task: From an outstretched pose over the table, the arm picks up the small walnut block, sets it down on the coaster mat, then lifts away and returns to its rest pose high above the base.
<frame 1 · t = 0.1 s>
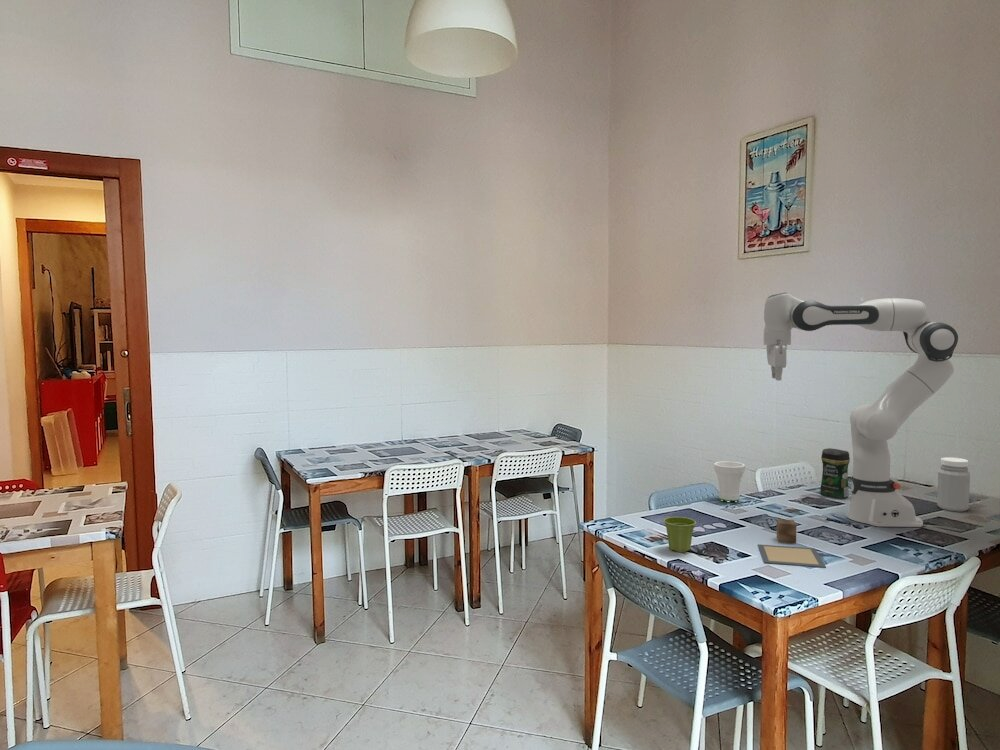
hand: (776, 379, 234), 48 cm above the table, fingers open, 8 cm apart
walnut block: (786, 540, 208), on the table
cup: (729, 501, 256), on the table
coffee jar: (834, 496, 261), on the table
coaster mat: (790, 556, 194), on the table
plant pot: (679, 549, 201), on the table
jar: (952, 509, 241), on the table
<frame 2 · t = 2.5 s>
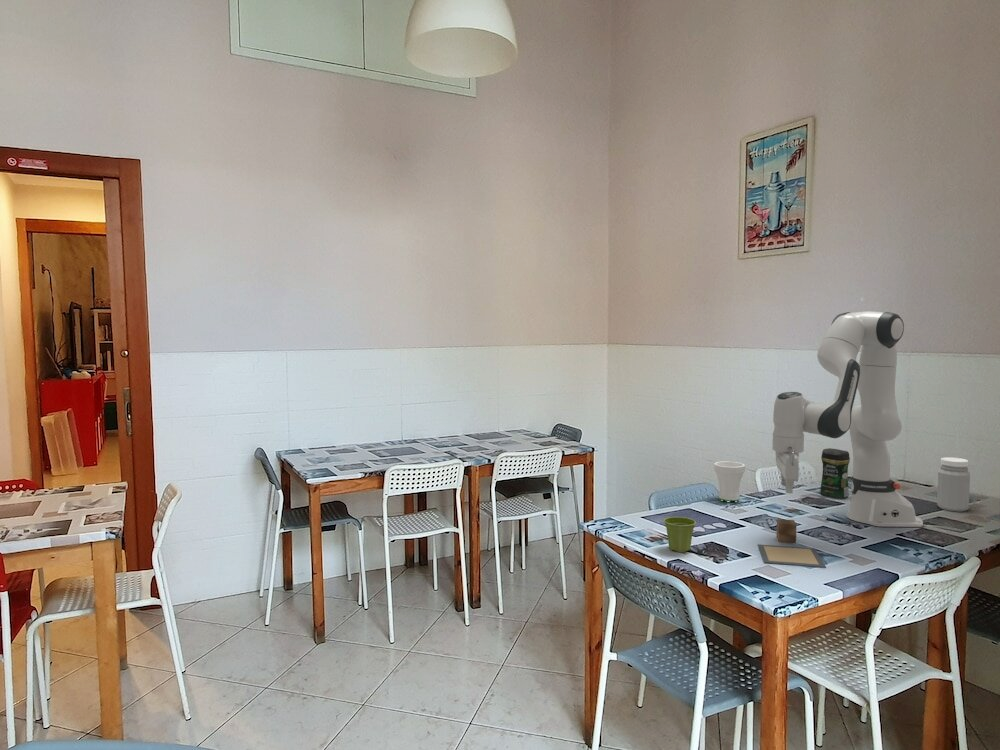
hand: (786, 489, 207), 16 cm above the table, fingers open, 8 cm apart
nothing on the table moved.
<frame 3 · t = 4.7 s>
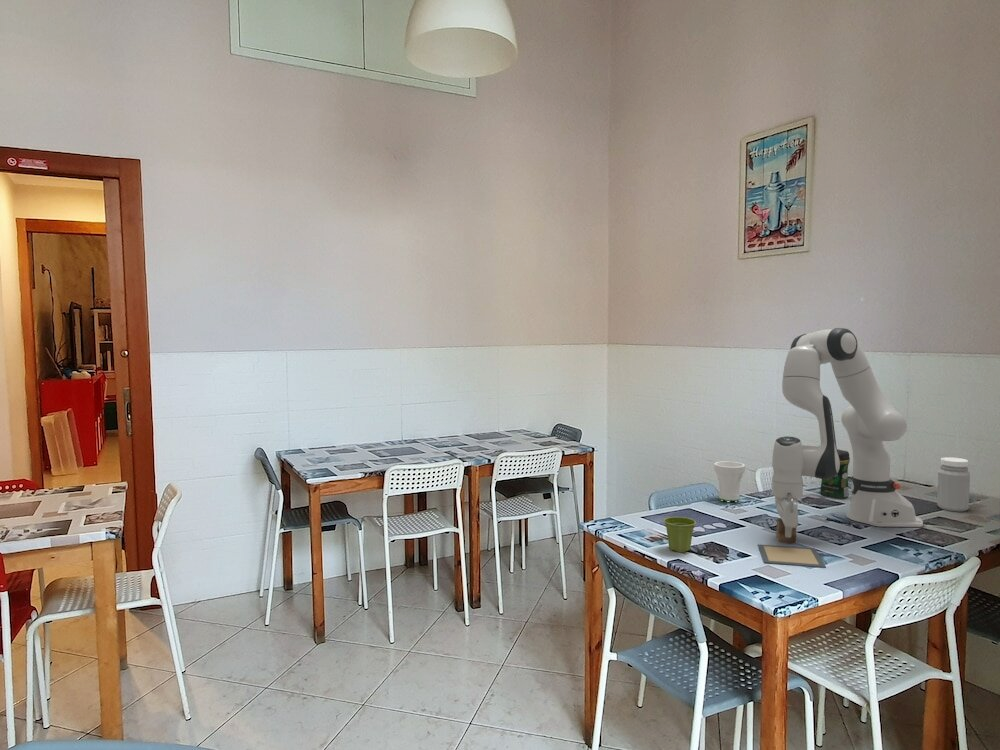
hand: (786, 533, 208), 2 cm above the table, fingers closed on walnut block, 5 cm apart
walnut block: (786, 540, 208), on the table, touching gripper
everything else where it was.
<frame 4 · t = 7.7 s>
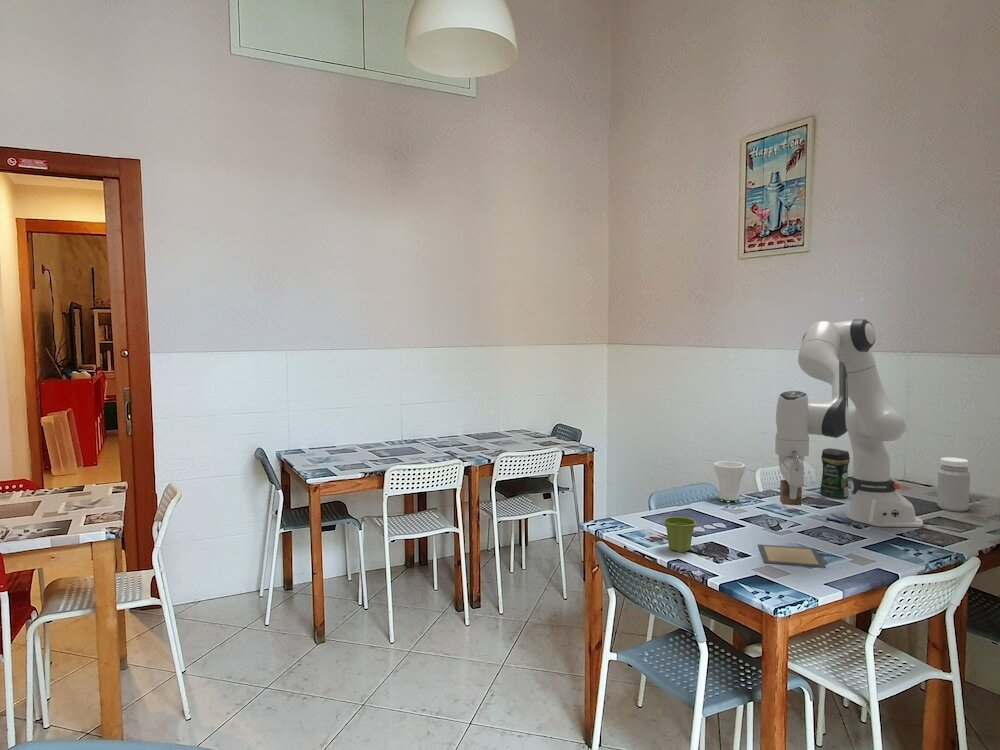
hand: (790, 495, 193), 18 cm above the table, fingers closed on walnut block, 5 cm apart
walnut block: (790, 502, 193), point 16 cm above the table, touching gripper
everything else where it was.
when the fingers open (4 cm above the table, at t = 10.8 s): walnut block drops 2 cm, resting on coaster mat.
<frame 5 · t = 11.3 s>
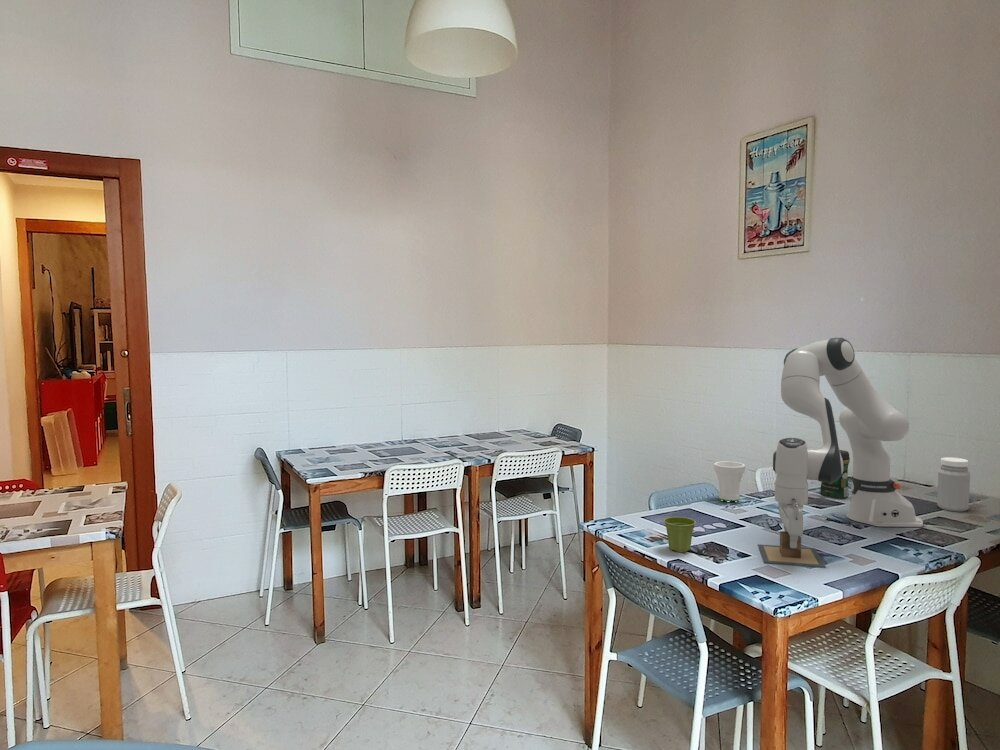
hand: (790, 542, 194), 4 cm above the table, fingers open, 8 cm apart
walnut block: (790, 554, 194), resting on coaster mat
everything else where it was.
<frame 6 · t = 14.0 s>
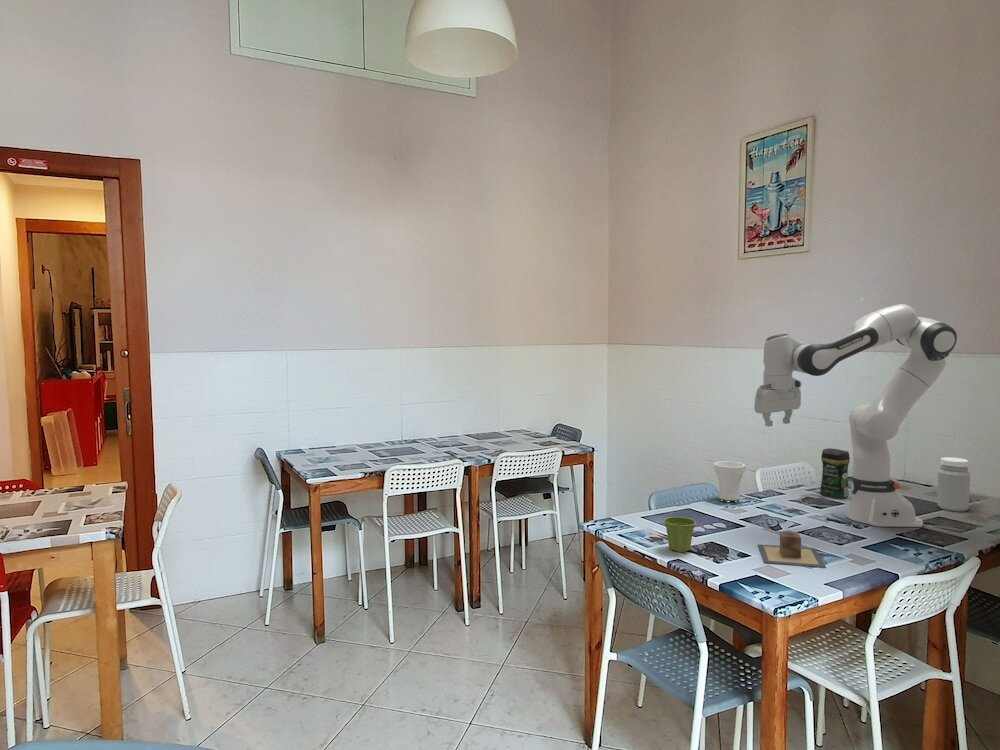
hand: (777, 424, 222), 34 cm above the table, fingers open, 8 cm apart
nothing on the table moved.
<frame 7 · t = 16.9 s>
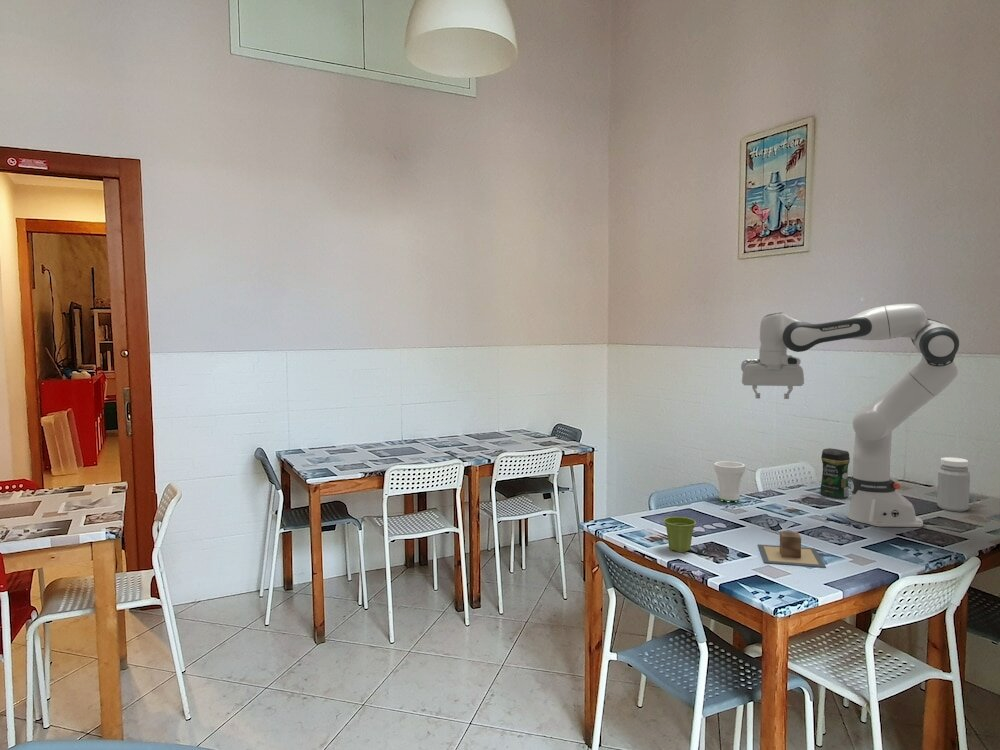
hand: (772, 398, 235), 41 cm above the table, fingers open, 8 cm apart
nothing on the table moved.
at the end: walnut block inside the target area on the coaster mat (0.1 cm from its centre), point 0.3 cm above the coaster mat's base; walnut block tilted 0°; the gripper is holding nothing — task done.
